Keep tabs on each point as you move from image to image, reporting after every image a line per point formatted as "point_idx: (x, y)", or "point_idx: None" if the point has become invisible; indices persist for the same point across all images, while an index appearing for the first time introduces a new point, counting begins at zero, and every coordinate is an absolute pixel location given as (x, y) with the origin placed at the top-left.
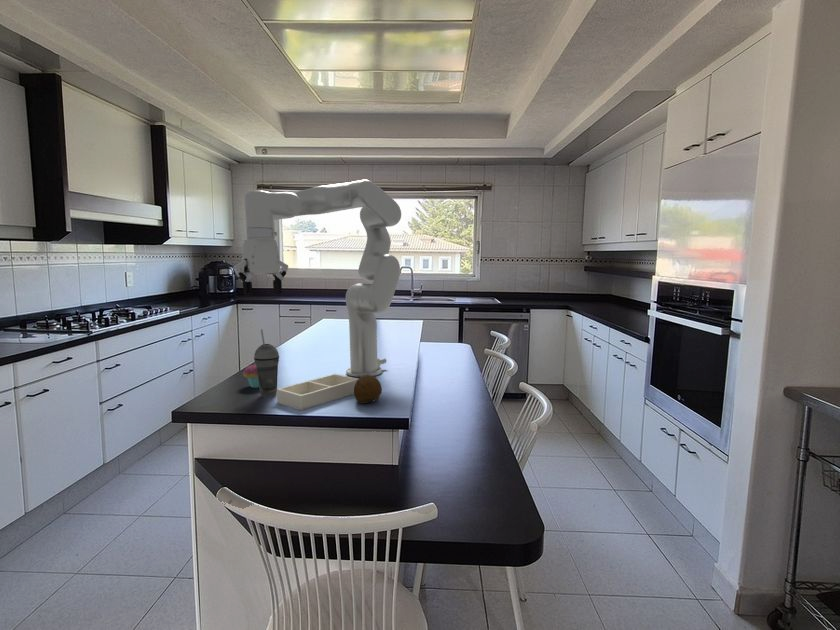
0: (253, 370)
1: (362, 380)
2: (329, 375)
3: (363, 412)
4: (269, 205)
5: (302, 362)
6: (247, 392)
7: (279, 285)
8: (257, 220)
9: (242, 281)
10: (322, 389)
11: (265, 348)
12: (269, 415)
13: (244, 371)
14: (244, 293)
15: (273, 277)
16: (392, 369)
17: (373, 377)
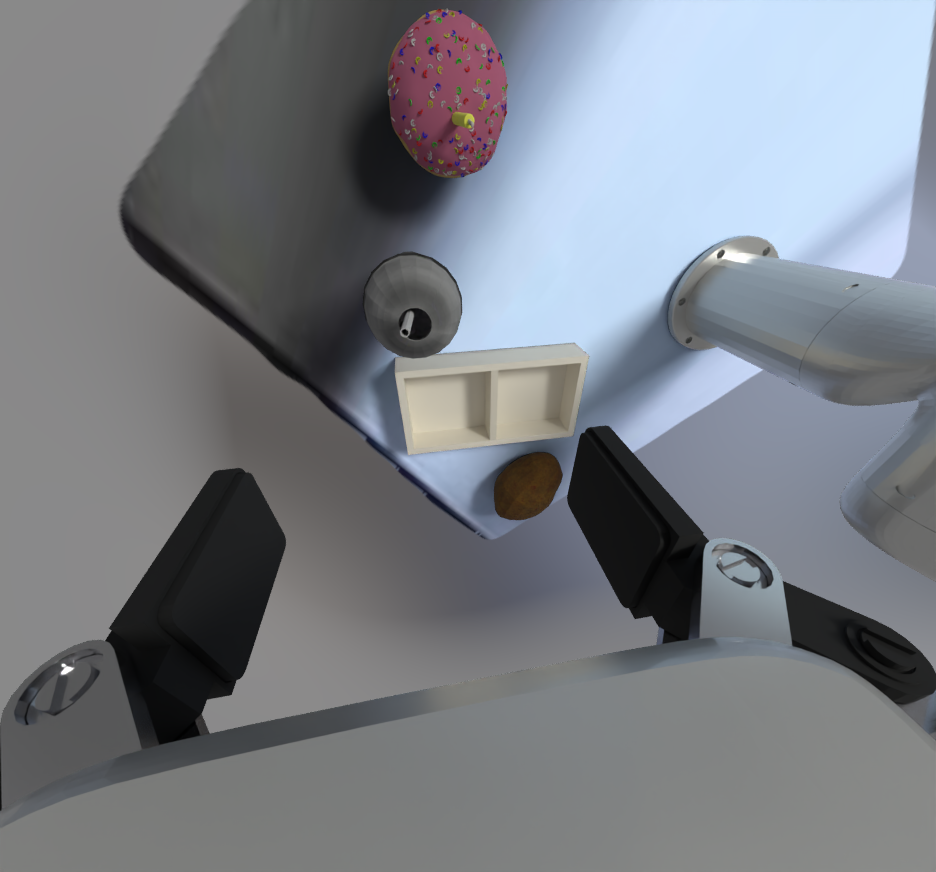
0: (415, 142)
1: (515, 509)
2: (567, 360)
3: (474, 502)
4: None
5: None
6: (374, 177)
7: (605, 562)
8: None
9: (85, 657)
10: (467, 446)
11: (398, 348)
12: (343, 418)
13: (392, 76)
14: (211, 486)
15: (703, 582)
16: None
17: (538, 513)
